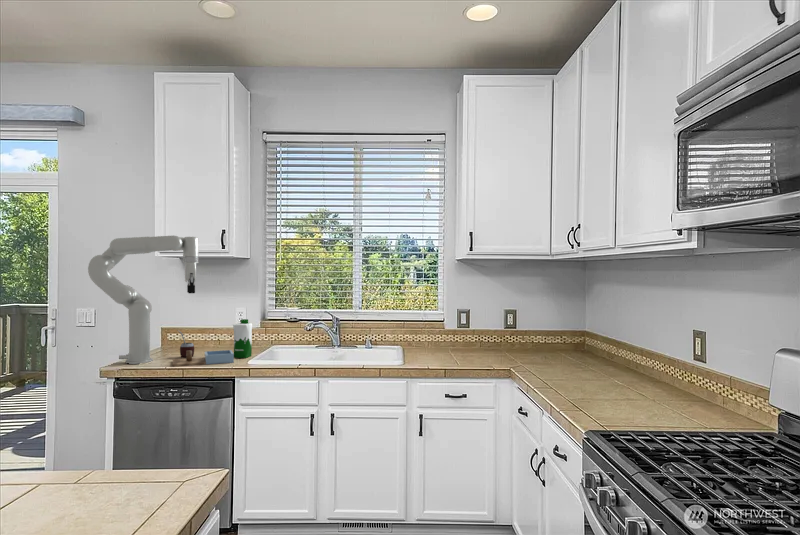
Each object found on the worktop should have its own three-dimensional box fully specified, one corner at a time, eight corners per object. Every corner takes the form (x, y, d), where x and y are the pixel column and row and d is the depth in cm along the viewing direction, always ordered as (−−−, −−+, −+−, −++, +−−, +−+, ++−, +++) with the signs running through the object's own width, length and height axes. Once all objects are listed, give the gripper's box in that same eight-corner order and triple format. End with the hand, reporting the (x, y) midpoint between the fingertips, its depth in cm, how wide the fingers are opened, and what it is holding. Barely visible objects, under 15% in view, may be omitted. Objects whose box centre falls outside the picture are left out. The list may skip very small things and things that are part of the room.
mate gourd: (195, 358, 271) (195, 330, 271) (179, 360, 267) (179, 331, 267) (192, 356, 278) (192, 329, 278) (177, 358, 273) (177, 329, 273)
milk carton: (253, 355, 281) (253, 319, 281) (246, 358, 272) (246, 321, 272) (238, 355, 282) (238, 319, 282) (231, 358, 273) (231, 320, 273)
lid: (172, 366, 246) (172, 354, 246) (172, 361, 260) (172, 349, 260) (206, 364, 252) (206, 352, 252) (204, 359, 266) (204, 347, 266)
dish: (206, 365, 252) (206, 355, 252) (204, 361, 264) (204, 351, 264) (233, 363, 258) (233, 353, 258) (231, 359, 270) (231, 349, 270)
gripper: (182, 260, 275) (182, 292, 275) (183, 260, 260) (184, 293, 260) (197, 260, 279) (197, 292, 279) (199, 260, 263) (199, 293, 263)
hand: (191, 292), depth 269 cm, fingers open, 9 cm apart
